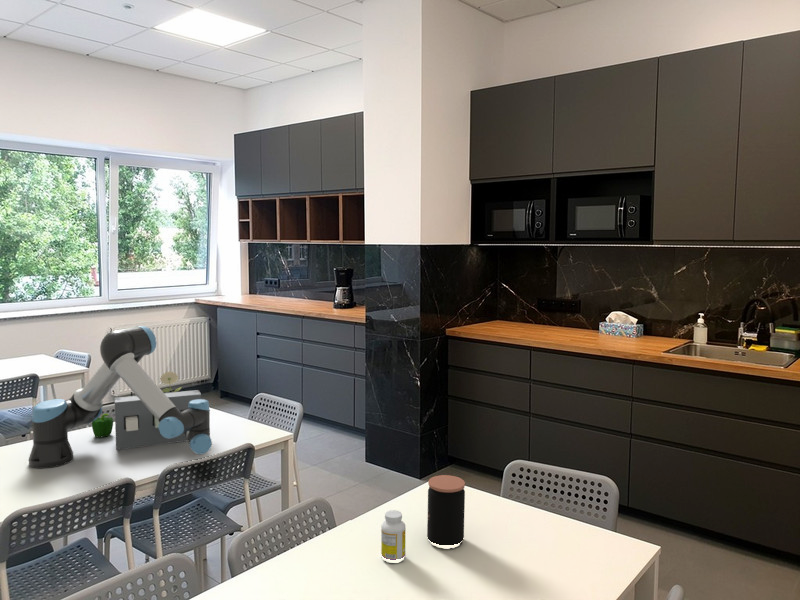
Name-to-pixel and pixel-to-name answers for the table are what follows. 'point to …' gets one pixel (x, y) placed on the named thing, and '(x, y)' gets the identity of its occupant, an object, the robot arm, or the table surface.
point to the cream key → (131, 423)
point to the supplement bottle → (393, 536)
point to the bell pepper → (102, 426)
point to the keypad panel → (146, 420)
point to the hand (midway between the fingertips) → (188, 417)
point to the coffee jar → (446, 510)
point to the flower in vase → (169, 380)
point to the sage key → (156, 422)
